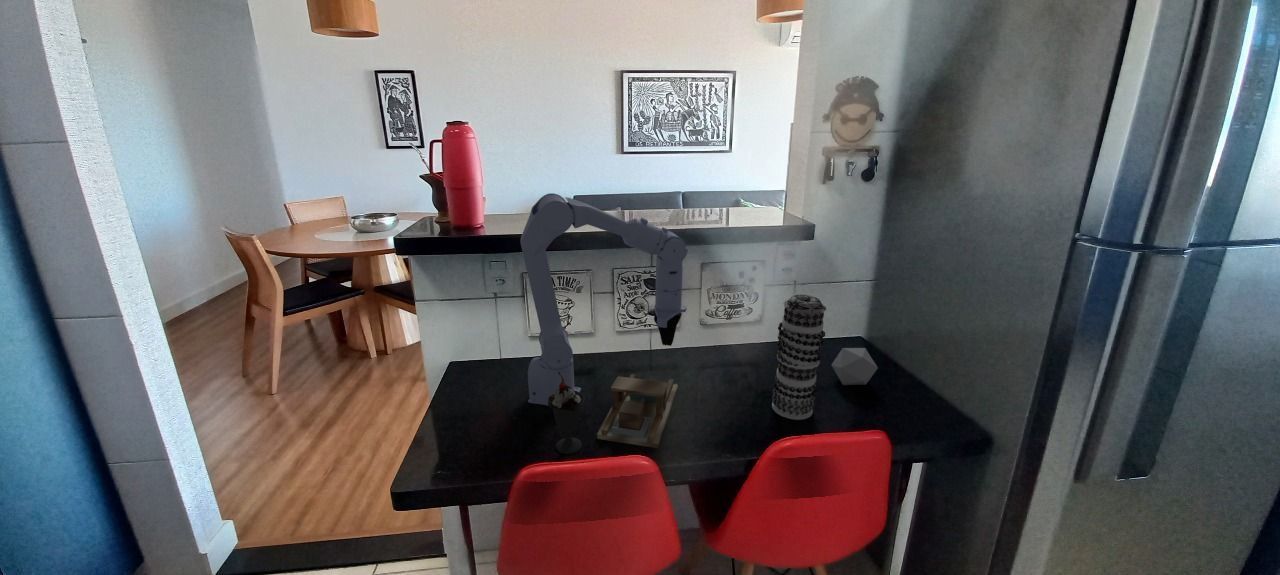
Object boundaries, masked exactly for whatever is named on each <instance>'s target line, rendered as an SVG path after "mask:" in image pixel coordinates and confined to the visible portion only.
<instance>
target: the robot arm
mask: <svg viewBox="0 0 1280 575" xmlns="http://www.w3.org/2000/svg"><path fill="white" fill-rule="evenodd" d="M565 199H566V200H565ZM587 225H589V226H591V227H594V228H597V229H600V230H603V231H605V232H608V233H611V234H614V235H616V236H621V238H622V240H623V242H624V244H625V245H627V246H628V247H631V248H634V249H636V250H639V251H642V252H644V253H646V254H649V255H652V256H654V255H656V257H655V259H656V262H655V264H656V266H655V291H654V292H655V300H654V301H655V302H654V304H655V305H654V312H655V315H654V316H653V320H654V323H655V324H656V328H658V331H659V335H660V340H661V344H662V346H669V347H671V346H672V345H673V342H674V339H675V335H676V330H677V326H678V324H679V322H680V320H681V318H682V316H683V313H686V312H687V309H688V308H687V306H685V305H682V297H683V296H682V295H683V294H682V293H683V291H682V290H683V289H682V288H683V261H684V260H685V258H686V257H687V254H688V248H687V245H686V242H685V241H684V239H683V238H681V237H680V236H679V235H677V234H675V233H674V232H672V231H671V230H670V229H668V228H665V227H658V226H655V225H652V224H650V223H649V220H647V219H646V218H643V217H641V218H640V219H638V218H632V219H631V220H628V221H626V220H624V219H622V218H620V217H617V216H615V215H613V214H610V213H608V212H606V211H604V210H601V209H600V208H597V207H595V206H593V205H590V204H588V203H586V202H583V201H580V200H578V199H574V198H571V197H567V196H566V197H563V196H561V195H559V194H557V193H547V194H546V193H545V194H544V195H543V196H541V197H540V198H539V200H537V201H536V203H535V204H534V205H533V206H532V207H531V209H530V213H529V216H528V219H527V221H526V223H525V225H524V229H523V231H522V234H521V236H520V248H521V251H522V255H523V260H524V264H525V268H526V272H527V278H528V281H529V286H530V290H531V294H532V298H533V303H534V306H535V313H536V314H537V320H538V325H539V329H540V331H539V332H540V333H539V335H538V342H539V345H540V351H541V355H540V357H538V356H537V357H533V358H532V359H531V361H530V362H529V365H528V370H527V383H528V384H527V385H528V395H529V396H528V397H529V399H528V400H527V403H529V404H534V405H541V406H548V398H549V397H550V396H551V395H553V394H555V393H556V391H557V390H558V389H559V385H560V383H562V377H563V379H564V383H566V386H569V387H571V388H572V389H573V390H574V391H577V392H579V393H581V391H582V388H581V387H578V386H575V376H574V375H575V371H574V357H573V356H574V355H573V354H574V353H573V352H574V351H573V349H572V347H571V344H570V341H569V337H568V336H569V335H568V332H567V330H566V328H564V326H563V324H562V321H561V316H560V311H559V307H558V306H559V305H558V301H557V297H556V292H555V287H554V283H553V279H552V274H551V273H552V272H551V269H550V264H549V260H548V256H547V251H546V250H547V248H549V245H550V244H551V243H552V242H553V241H554V240H555V239H556V238H557V237H559V236H561V235H563V234H564V233H566V232H567V231H568V230H569V229H570V228H571V226H572V227H573V228H574V229H578V228H581V227H583V226H587ZM558 372H560V375H561V376H562V377H561V376H560V375H559V374H558Z"/></svg>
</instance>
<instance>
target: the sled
mask: <svg viewBox="0 0 1280 575" xmlns="http://www.w3.org/2000/svg"><path fill="white" fill-rule="evenodd" d="M635 379H637V378H636V377H635ZM643 380H645V379H643ZM651 381H653V380H651ZM630 399H634V400H641V401H640V403H645V401H649V402H656V396H649V395H641V394H634V393H630ZM650 422H651V420H650V417H644V422H643V424H642V427H641V429H640V431H638V430H632V429H625V428H619V418H618V420H617V422H616V424H615V426H614V427H612V433H615V434H621V435H628V436H634V437H641V438H645V435H646V433H647V430H648V428H649V425H650Z"/></svg>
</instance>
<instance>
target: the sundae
mask: <svg viewBox="0 0 1280 575" xmlns="http://www.w3.org/2000/svg"><path fill="white" fill-rule="evenodd" d="M558 374H559V375H560V372H558ZM560 376H561V375H560ZM561 377H562V376H561ZM583 395H584V394H582V393H581V392H577V391H574V390H573V389H572V388H571V387H569V386H566V383H564V379H563V377H562V383H560V385H559V389H558V390H557V391H556V393H555V394H553V395H551V396H550V397H549V398H548V405H547V406H548V407H549V408H550V409H552V410H553V415H554V420H555V424H556V426H557V428H558V430H560V431H561V432H564V436H565V437H564V438H561V439H560V440H559V441H558V442H557V443H556V444H555V449H556V451H557V452H558V453H560V454H563V455H572V454H576V453H577V452H579V451H580V450H581V449H582V447H583V443H582V441H581V440H580V439H579V438H576V437H573V435H572V432H573V431H575V429H576V428H577V427H578V426H579V422H580V413H581V407H582V405H583V404H584V402H585V399H586V398H585V396H583Z"/></svg>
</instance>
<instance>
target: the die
mask: <svg viewBox="0 0 1280 575" xmlns="http://www.w3.org/2000/svg"><path fill="white" fill-rule="evenodd" d="M831 367H832V369H833V371H834V372H835V374H836V375H837V377H838V379H839V380H840V382H841V385H843V386H866V385H867V383H868V382H869V381H870V380H871V378H872V376H873V375H874V374H875V373H876V371H877V370H878V369H879V367H878V366H877V364H876V362H875V361H874V360H873V358H872V357H871V354H870V353H869V351H868V350H867V348H866V347H842V348H841V350H840V351H839V352H838V354H837V356H836V357H835V359H834V361H833V362H832V363H831Z"/></svg>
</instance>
